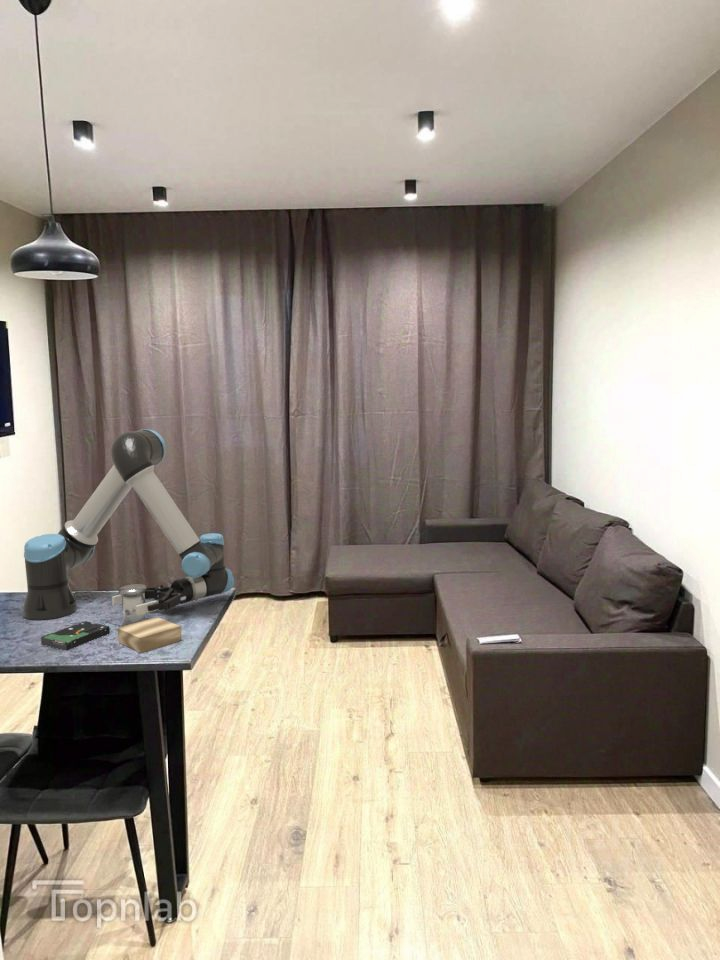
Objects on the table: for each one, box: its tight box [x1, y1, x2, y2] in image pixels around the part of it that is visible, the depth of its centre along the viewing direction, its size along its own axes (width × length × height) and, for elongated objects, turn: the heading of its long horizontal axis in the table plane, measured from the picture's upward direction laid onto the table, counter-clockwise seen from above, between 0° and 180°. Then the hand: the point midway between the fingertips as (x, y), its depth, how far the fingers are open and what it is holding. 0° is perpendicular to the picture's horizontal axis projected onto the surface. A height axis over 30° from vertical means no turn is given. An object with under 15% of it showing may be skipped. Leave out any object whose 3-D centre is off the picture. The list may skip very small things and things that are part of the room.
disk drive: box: [40, 621, 111, 651], centre depth 197 cm, size 10×3×15 cm
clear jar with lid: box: [118, 583, 147, 626], centre depth 208 cm, size 8×8×11 cm
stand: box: [117, 616, 182, 654], centre depth 193 cm, size 12×12×4 cm
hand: (124, 606), depth 206 cm, fingers open, 13 cm apart
